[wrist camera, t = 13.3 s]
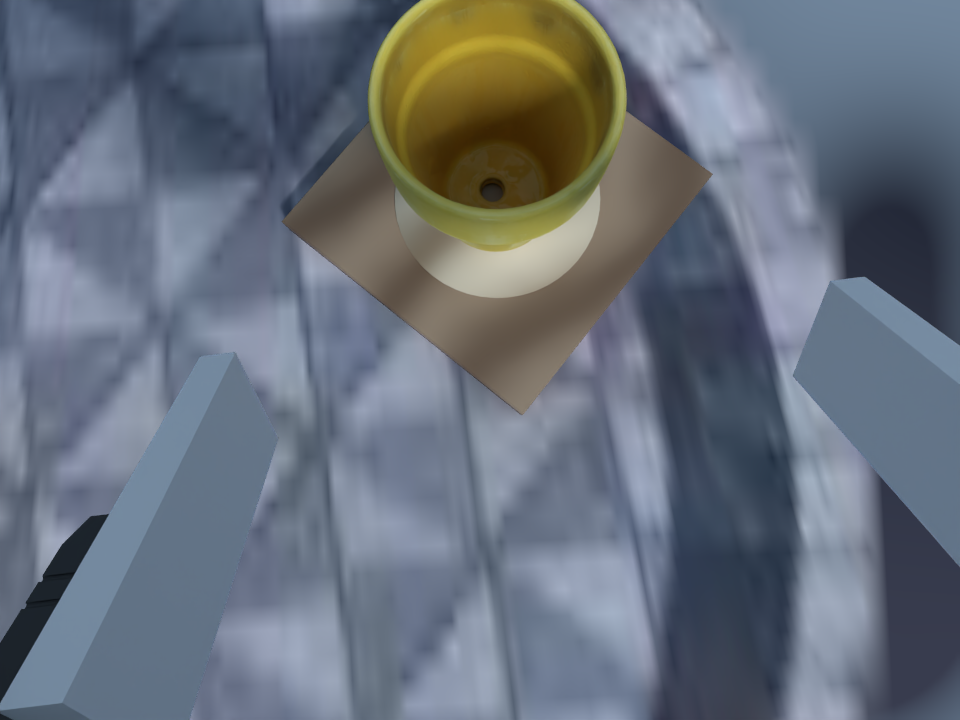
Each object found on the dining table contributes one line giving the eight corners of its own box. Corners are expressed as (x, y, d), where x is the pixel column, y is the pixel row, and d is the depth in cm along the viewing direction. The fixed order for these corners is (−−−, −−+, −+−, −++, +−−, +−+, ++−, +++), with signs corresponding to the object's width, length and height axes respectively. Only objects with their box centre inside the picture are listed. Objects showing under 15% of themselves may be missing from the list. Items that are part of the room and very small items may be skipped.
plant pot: (379, 251, 29) (324, 168, 19) (441, 93, 30) (419, -61, 20) (549, 310, 29) (580, 255, 19) (606, 147, 30) (664, 16, 20)
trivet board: (291, 231, 31) (280, 220, 29) (474, 19, 32) (473, -2, 31) (520, 414, 30) (522, 414, 28) (701, 185, 31) (713, 172, 29)
